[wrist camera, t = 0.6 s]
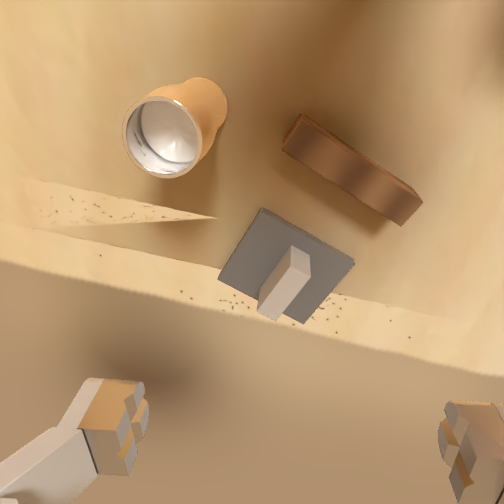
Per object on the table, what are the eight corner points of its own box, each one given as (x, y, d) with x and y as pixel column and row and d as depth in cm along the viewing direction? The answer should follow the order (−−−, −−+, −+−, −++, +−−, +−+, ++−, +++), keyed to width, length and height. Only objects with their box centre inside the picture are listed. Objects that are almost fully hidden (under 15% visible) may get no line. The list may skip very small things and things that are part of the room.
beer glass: (198, 149, 47) (161, 196, 34) (157, 99, 45) (101, 130, 32) (244, 112, 45) (222, 148, 32) (203, 58, 42) (162, 72, 29)
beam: (283, 140, 46) (282, 150, 42) (300, 113, 44) (301, 121, 41) (392, 210, 49) (401, 226, 45) (412, 188, 47) (423, 202, 43)
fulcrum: (261, 207, 50) (257, 230, 45) (353, 259, 53) (360, 286, 47) (218, 274, 56) (210, 302, 50) (303, 319, 58) (304, 349, 53)
